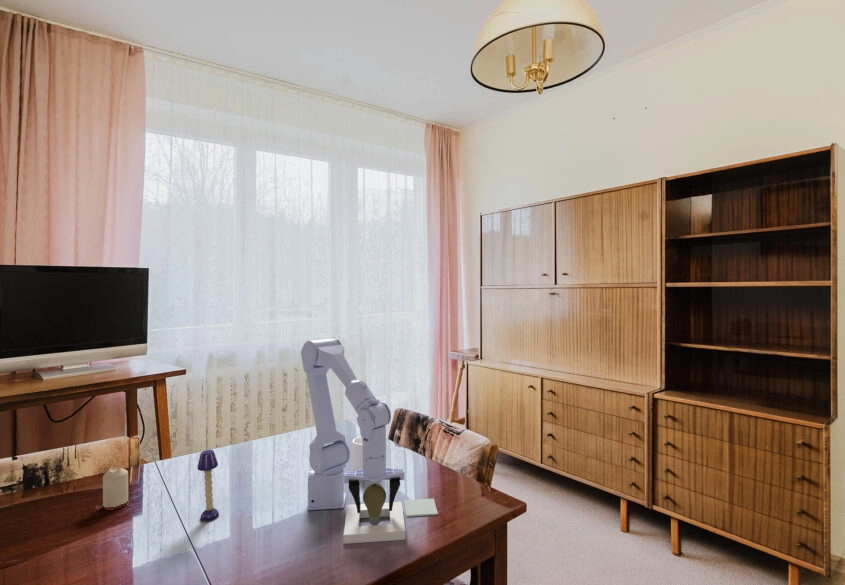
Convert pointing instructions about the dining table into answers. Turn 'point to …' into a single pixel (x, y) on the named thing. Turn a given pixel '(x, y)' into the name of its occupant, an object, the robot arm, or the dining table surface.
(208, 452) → the toy lamp
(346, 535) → the socket block
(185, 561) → the dining table surface
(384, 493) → the light bulb
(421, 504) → the rubber pad
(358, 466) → the cup
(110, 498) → the candle
